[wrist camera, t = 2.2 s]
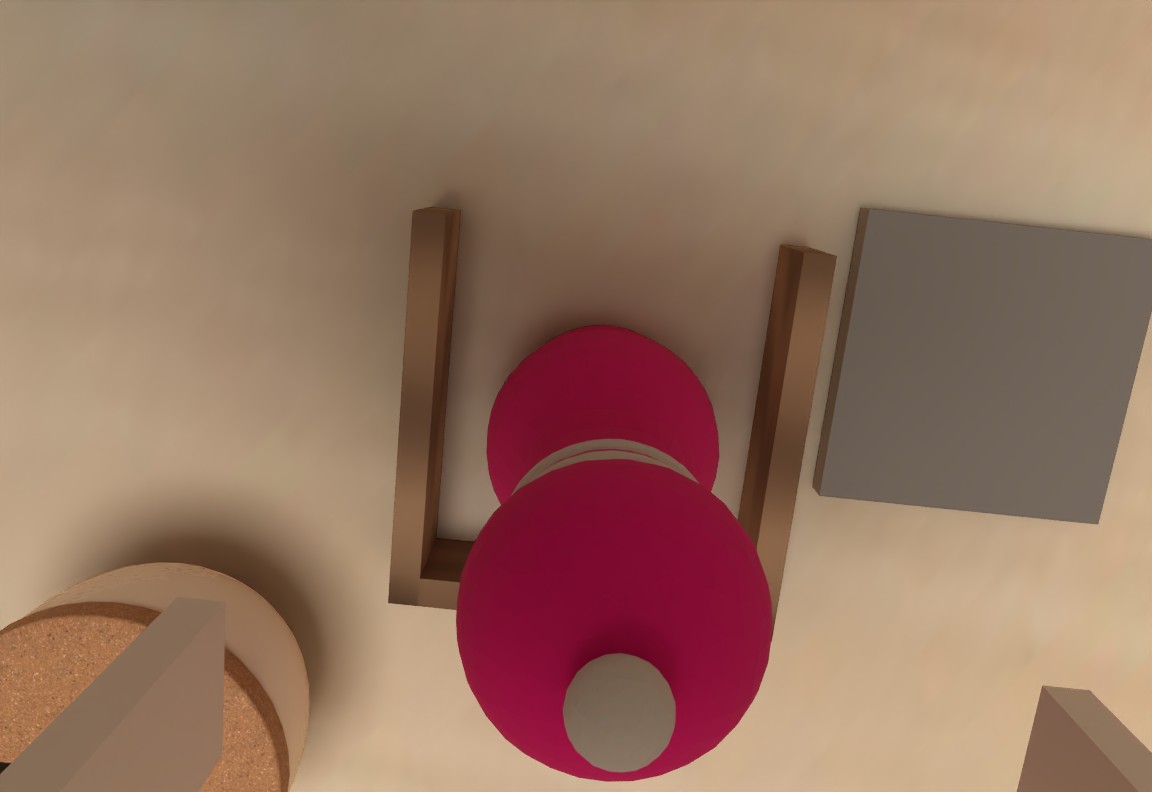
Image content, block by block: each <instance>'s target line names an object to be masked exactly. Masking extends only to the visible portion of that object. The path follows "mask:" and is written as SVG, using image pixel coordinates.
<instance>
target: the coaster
mask: <svg viewBox="0 0 1152 792" xmlns="http://www.w3.org/2000/svg"><path fill="white" fill-rule="evenodd" d="M1151 312H1152V239H1144V238H1135V237H1126V236H1117V235H1107V234H1098V233H1089V232H1080V231H1070V230H1061V229H1052V228H1042V227H1033V226H1024V225H1015V224H1005V223H996V222H987V221H978V220H968V219H959V218H950V217H940V216H931V215H922V214H913V213H903V212H894V211H885V210H876V209H866V208H861V209H860V215H859V221H858V227H857V232H856V238H855V244H854V250H853V255H852V261H851V267H850V273H849V279H848V284H847V290H846V296H845V302H844V307H843V313H842V319H841V325H840V331H839V336H838V342H837V348H836V354H835V359H834V365H833V371H832V377H831V383H830V388H829V394H828V400H827V406H826V411H825V417H824V423H823V429H822V435H821V440H820V446H819V452H818V458H817V463H816V469H815V475H814V481H813V488H814V489H815V491H816V492H817V493H818V495H819V496H827V497H836V498H846V499H856V500H865V501H875V502H885V503H895V504H904V505H914V506H924V507H933V508H943V509H953V510H963V511H972V512H982V513H992V514H1001V515H1011V516H1021V517H1031V518H1040V519H1050V520H1060V521H1069V522H1079V523H1089V524H1098V523H1099V519H1100V515H1101V511H1102V507H1103V503H1104V499H1105V495H1106V491H1107V487H1108V483H1109V479H1110V475H1111V471H1112V467H1113V463H1114V459H1115V455H1116V451H1117V447H1118V443H1119V439H1120V435H1121V431H1122V427H1123V423H1124V419H1125V415H1126V411H1127V407H1128V403H1129V399H1130V396H1131V392H1132V388H1133V384H1134V380H1135V376H1136V372H1137V368H1138V364H1139V360H1140V356H1141V352H1142V348H1143V344H1144V340H1145V336H1146V332H1147V328H1148V324H1149V320H1150V316H1151Z"/></svg>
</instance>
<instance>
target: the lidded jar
mask: <svg viewBox="0 0 1152 792" xmlns="http://www.w3.org/2000/svg"><path fill="white" fill-rule="evenodd" d="M177 597H184V598H194V599H203V600H213V601H223V602H226V607H225V652H224V696H223V741H222V756H221V758H220V759H219V761H218V762H217V764H216V765H215V767H214V769H213V770H212V772H211V773H210V775H209V776H208V778H207V779H206V781H205V783H204V784H203V786H202V787H201V789H200V790H199V792H289V791H290V789H291V787H292V784H293V782H294V779H295V776H296V773H297V770H298V767H299V764H300V760H301V757H302V753H303V749H304V746H305V742H306V736H307V728H308V720H309V710H310V694H309V682H308V677H307V672H306V668H305V664H304V659H303V655H302V653H301V651H300V648H299V646H298V643H297V641H296V639H295V637H294V635H293V634H292V632H291V630H290V629H289V627H288V625H287V624H286V622H285V621H284V620H283V618H282V617H281V616H280V615H279V614H278V612H277V611H276V610H275V609H274V608H273V607H272V605H271V604H270V603H269V602H267V601H266V600H265V599H264V598H263V597H262V596H261V595H259V594H258V593H257V592H256V591H254V590H253V589H251V588H250V587H248V586H247V585H245V584H244V583H242V582H240V581H238V580H236V579H234V578H232V577H230V576H228V575H226V574H224V573H221V572H218V571H214V570H211V569H208V568H205V567H202V566H196V565H190V564H184V563H165V562H158V563H148V564H140V565H132V566H126V567H122V568H119V569H115V570H112V571H109V572H105V573H103V574H100V575H97V576H94V577H92V578H89V579H87V580H85V581H83V582H81V583H78V584H76V585H74V586H72V587H70V588H68V589H66V590H64V591H63V592H61V593H59V594H57V595H55V596H53V597H51V598H50V599H48V600H47V601H46V602H44V603H43V604H41V605H40V606H39V607H37V608H36V609H34V610H33V611H31V612H30V613H29V614H27V615H26V616H24V617H23V618H22V619H20V620H18V621H16V622H14V623H11V624H10V625H8V626H7V627H5V628H4V629H2V630H1V631H0V762H6V763H12V762H13V761H14V760H15V759H16V758H17V757H18V756H19V755H20V754H21V753H22V752H23V751H24V750H25V749H26V748H27V747H28V746H29V745H30V744H31V743H32V742H33V741H34V740H35V739H36V738H37V737H38V736H39V735H40V734H41V733H42V732H43V731H44V730H45V729H46V728H47V727H48V726H49V725H50V724H51V723H52V722H53V721H54V720H55V719H56V718H57V717H58V716H59V715H60V714H61V713H62V712H63V711H64V710H65V709H66V708H67V707H68V706H69V705H70V704H71V703H72V702H73V701H74V700H75V699H76V698H77V697H78V696H79V695H80V694H81V693H82V692H83V691H84V690H85V689H86V688H87V687H88V686H89V685H90V684H91V683H92V682H93V681H94V680H95V679H96V678H97V677H98V676H99V675H100V674H101V673H102V672H103V671H104V670H105V669H106V668H107V667H108V666H109V665H110V664H111V663H112V662H113V661H114V660H115V659H116V658H117V657H118V656H119V655H120V654H121V653H122V652H123V651H124V650H125V649H126V648H127V647H128V646H129V645H130V644H131V643H132V642H133V641H134V640H135V639H136V638H137V637H138V636H139V635H140V634H141V633H142V632H143V631H144V630H145V629H146V628H147V627H148V626H149V625H150V624H151V623H152V622H153V621H154V620H155V619H156V618H157V617H158V616H159V615H160V614H161V613H162V612H163V611H164V610H165V609H166V608H167V607H168V606H169V605H170V604H171V603H172V602H173V601H174V600H175V599H176V598H177Z"/></svg>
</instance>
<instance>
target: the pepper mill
mask: <svg viewBox="0 0 1152 792" xmlns="http://www.w3.org/2000/svg"><path fill="white" fill-rule="evenodd" d="M487 460H488V469H489V475H490V478H491V482H492V485H493V489H494V491H495V493H496V495H497V497H498V500H499V502H500V504H501V506H500V507H499V508H498V509H497V510H496V511H495V512H494V513H493V514H492V516H491V517H490V519H489V520H488V522H487V523H486V524H485V526H484V527H483V529H482V530H481V532H480V533H479V535H478V537H477V539H476V541H475V543H474V545H473V547H472V548H471V551H470V553H469V556H468V558H467V561H466V563H465V566H464V568H463V571H462V575H461V581H460V586H459V592H458V598H457V615H456V627H457V641H458V647H459V652H460V656H461V660H462V663H463V667H464V671H465V674H466V678H467V681H468V684H469V686H470V688H471V690H472V692H473V694H474V695H475V697H476V699H477V701H478V703H479V704H480V706H481V708H482V710H483V711H484V713H485V715H486V716H487V717H488V719H489V720H490V721H491V722H492V723H493V725H494V726H495V727H496V728H497V729H498V731H499V732H500V733H501V734H502V735H503V736H504V738H505V739H506V740H508V741H509V742H510V743H512V744H513V745H514V746H515V747H517V748H518V749H519V750H521V751H522V752H523V753H525V754H526V755H528V756H530V757H531V758H533V759H535V760H537V761H539V762H541V763H543V764H544V765H546V766H548V767H550V768H553V769H556V770H558V771H561V772H564V773H567V774H570V775H573V776H576V777H579V778H585V779H593V780H600V781H635V780H640V779H645V778H650V777H655V776H660V775H663V774H665V773H668V772H670V771H673V770H675V769H678V768H680V767H683V766H685V765H688V764H689V763H691V762H693V761H694V760H696V759H697V758H699V757H701V756H702V755H704V754H705V753H707V752H709V751H710V750H712V749H713V748H715V747H716V746H717V745H718V744H719V743H720V742H721V741H722V740H723V739H724V738H725V737H726V736H727V735H728V734H729V733H730V732H731V731H732V730H733V729H734V728H735V726H736V725H737V724H738V723H739V721H740V720H741V718H742V717H743V715H744V714H745V712H746V711H747V709H748V708H749V706H750V705H751V703H752V702H753V700H754V698H755V696H756V694H757V692H758V690H759V687H760V684H761V681H762V679H763V676H764V673H765V670H766V667H767V664H768V660H769V652H770V645H771V637H772V629H773V622H772V602H771V596H770V591H769V585H768V582H767V579H766V576H765V573H764V570H763V567H762V565H761V562H760V559H759V556H758V554H757V551H756V548H755V545H754V543H753V541H752V540H751V538H750V537H749V535H748V534H747V532H746V531H745V530H744V528H743V527H742V525H741V524H740V523H739V521H738V520H737V519H736V518H735V516H734V515H733V514H732V513H731V511H730V510H729V509H728V508H727V506H726V505H725V504H724V503H723V502H722V501H721V500H719V499H718V498H717V497H716V496H715V495H713V494H712V493H711V490H712V487H713V484H714V481H715V478H716V473H717V467H718V460H719V441H718V430H717V425H716V421H715V417H714V412H713V408H712V405H711V403H710V400H709V398H708V396H707V393H706V391H705V389H704V387H703V386H702V384H701V383H700V381H699V380H698V378H697V376H696V375H695V374H694V373H693V372H692V370H691V369H690V368H689V367H688V366H687V365H686V364H685V363H684V362H683V361H682V360H681V359H680V358H678V357H677V356H676V355H675V354H674V353H672V352H671V351H670V350H668V349H666V348H665V347H663V346H661V345H660V344H658V343H656V342H655V341H652V340H650V339H647V338H646V337H644V336H642V335H640V334H638V333H636V332H634V331H631V330H627V329H624V328H621V327H615V326H606V325H595V326H586V327H581V328H578V329H574V330H571V331H568V332H566V333H563V334H562V335H560V336H558V337H556V338H554V339H552V340H550V341H549V342H548V343H546V344H545V345H543V346H542V347H540V348H539V349H537V350H536V351H535V352H533V353H532V354H531V355H529V356H528V357H527V358H525V359H524V360H523V361H522V362H521V363H520V364H519V365H518V367H517V368H516V369H515V370H514V371H513V372H512V373H511V374H510V375H509V377H508V378H507V380H506V382H505V383H504V385H503V386H502V388H501V390H500V391H499V393H498V395H497V398H496V400H495V403H494V405H493V408H492V411H491V415H490V420H489V425H488V435H487Z"/></svg>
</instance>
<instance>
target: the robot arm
mask: <svg viewBox="0 0 1152 792" xmlns="http://www.w3.org/2000/svg"><path fill="white" fill-rule="evenodd" d="M225 607H226V602H223V601H213V600H203V599H194V598H184V597H177V598H176V599H175V600H174V601H173V602H172V603H171V604H170V605H169V606H168V607H167V608H166V609H165V610H164V611H163V612H162V613H161V614H160V615H159V616H158V617H157V618H156V619H155V620H154V621H153V622H152V623H151V624H150V625H149V626H148V627H147V628H146V629H145V630H144V631H143V632H142V633H141V634H140V635H139V636H138V637H137V638H136V639H135V640H134V641H133V642H132V643H131V644H130V645H129V646H128V647H127V648H126V649H125V650H124V651H123V652H122V653H121V654H120V655H119V656H118V657H117V658H116V659H115V660H114V661H113V662H112V663H111V664H110V665H109V666H108V667H107V668H106V669H105V670H104V671H103V672H102V673H101V674H100V675H99V676H98V677H97V678H96V679H95V680H94V681H93V682H92V683H91V684H90V685H89V686H88V687H87V688H86V689H85V690H84V691H83V692H82V693H81V694H80V695H79V696H78V697H77V698H76V699H75V700H74V701H73V702H72V703H71V704H70V705H69V706H68V707H67V708H66V709H65V710H64V711H63V712H62V713H61V714H60V715H59V716H58V717H57V718H56V719H55V720H54V721H53V722H52V723H51V724H50V725H49V726H48V727H47V728H46V729H45V730H44V731H43V732H42V733H41V734H40V735H39V736H38V737H37V738H36V739H35V740H34V741H33V742H32V743H31V744H30V745H29V746H28V747H27V748H26V749H25V750H24V751H23V752H22V753H21V754H20V755H19V756H18V757H17V758H16V759H15V760H14V761H13V762H12V763H6V762H0V792H199V790H200V789H201V787H202V786H203V784H204V783H205V781H206V779H207V778H208V776H209V775H210V773H211V772H212V770H213V769H214V767H215V765H216V764H217V762H218V761H219V759H220V758H221V756H222V741H223V696H224V652H225ZM1017 792H1152V753H1151V752H1150V751H1149V750H1148V749H1147V748H1146V747H1145V746H1144V745H1143V744H1142V743H1141V742H1140V741H1139V740H1138V739H1137V738H1136V737H1135V736H1134V735H1133V734H1132V733H1131V732H1130V731H1129V730H1128V729H1127V728H1126V727H1125V726H1124V725H1123V724H1122V723H1121V722H1120V721H1119V720H1118V719H1117V718H1116V717H1115V716H1114V715H1113V713H1112V712H1111V711H1110V710H1109V709H1108V708H1107V707H1106V706H1105V705H1104V704H1103V703H1102V702H1101V701H1100V700H1099V699H1098V698H1097V697H1096V696H1095V695H1094V694H1093V693H1092V692H1091V691H1090V690H1081V689H1071V688H1061V687H1051V686H1042V689H1041V693H1040V698H1039V702H1038V706H1037V710H1036V714H1035V718H1034V723H1033V727H1032V731H1031V735H1030V739H1029V743H1028V748H1027V752H1026V756H1025V760H1024V764H1023V768H1022V773H1021V777H1020V781H1019V785H1018V789H1017Z"/></svg>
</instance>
